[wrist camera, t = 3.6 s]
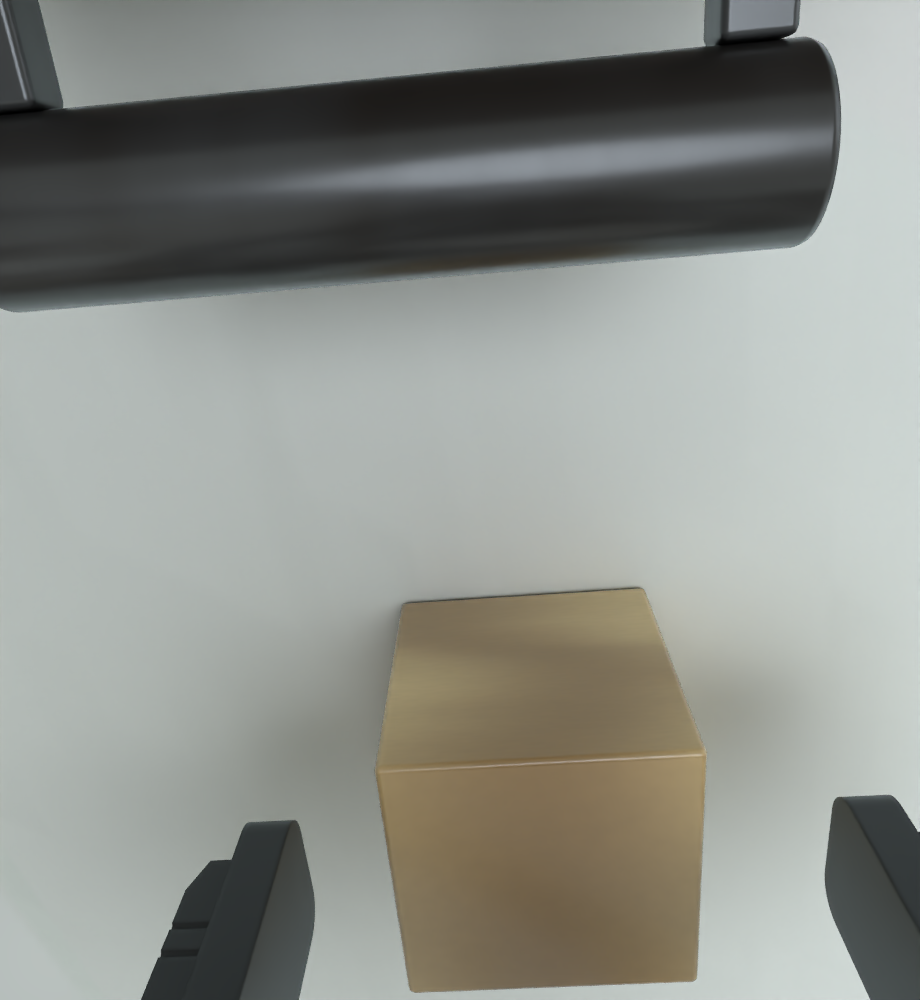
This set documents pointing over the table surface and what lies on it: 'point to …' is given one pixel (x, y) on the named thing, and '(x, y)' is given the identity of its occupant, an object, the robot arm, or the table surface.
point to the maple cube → (541, 795)
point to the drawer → (414, 169)
